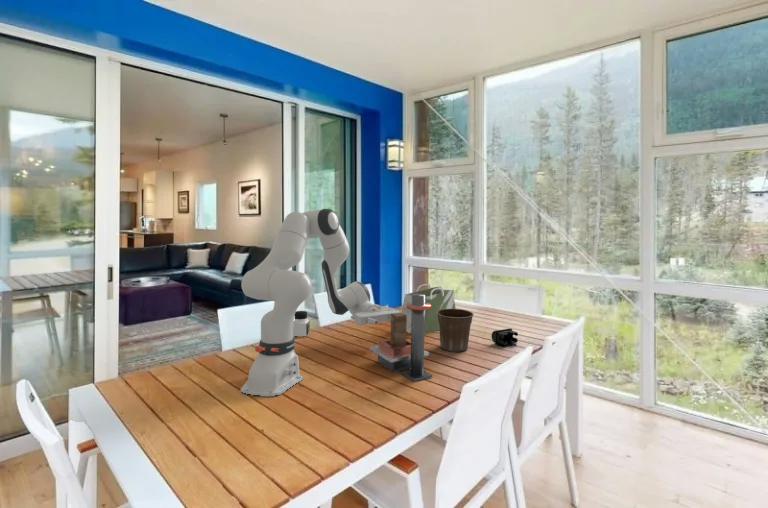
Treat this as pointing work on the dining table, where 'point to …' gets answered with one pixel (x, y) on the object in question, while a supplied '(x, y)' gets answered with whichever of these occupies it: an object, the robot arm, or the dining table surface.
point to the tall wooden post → (398, 329)
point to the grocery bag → (438, 302)
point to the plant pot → (454, 329)
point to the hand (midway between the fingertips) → (385, 320)
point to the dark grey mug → (504, 337)
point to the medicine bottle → (301, 324)
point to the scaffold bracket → (408, 345)
